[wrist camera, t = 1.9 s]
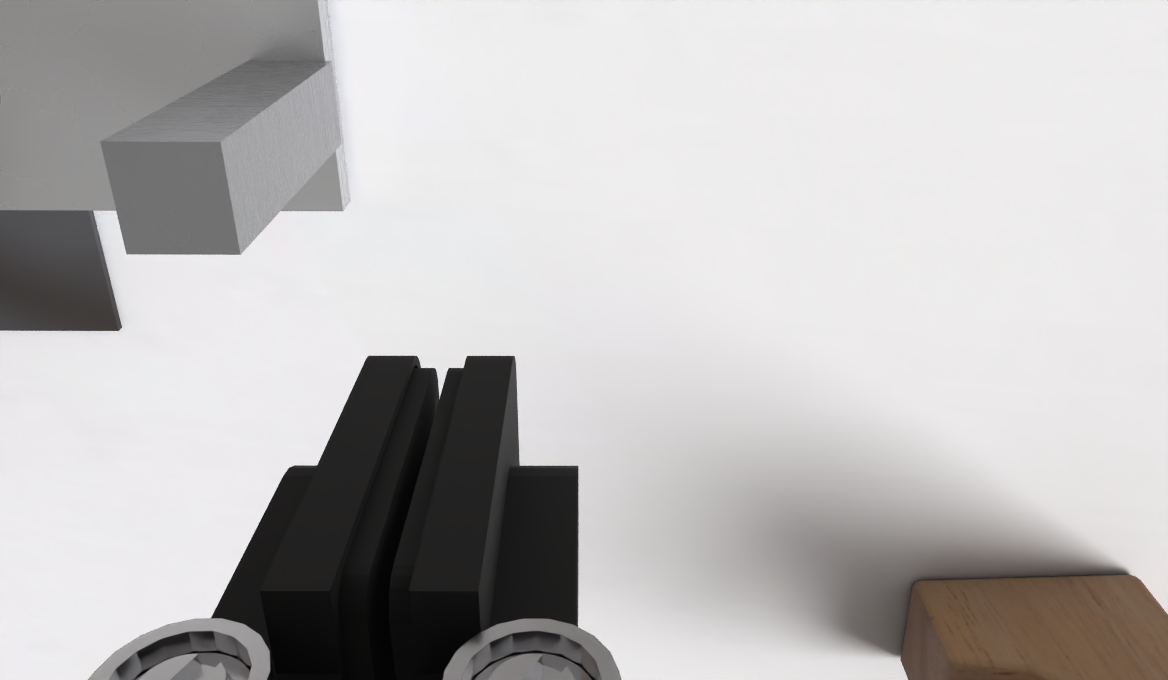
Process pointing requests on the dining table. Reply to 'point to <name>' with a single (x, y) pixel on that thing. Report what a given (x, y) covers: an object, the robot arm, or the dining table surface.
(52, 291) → the tunnel
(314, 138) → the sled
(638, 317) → the dining table surface
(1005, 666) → the wooden block
